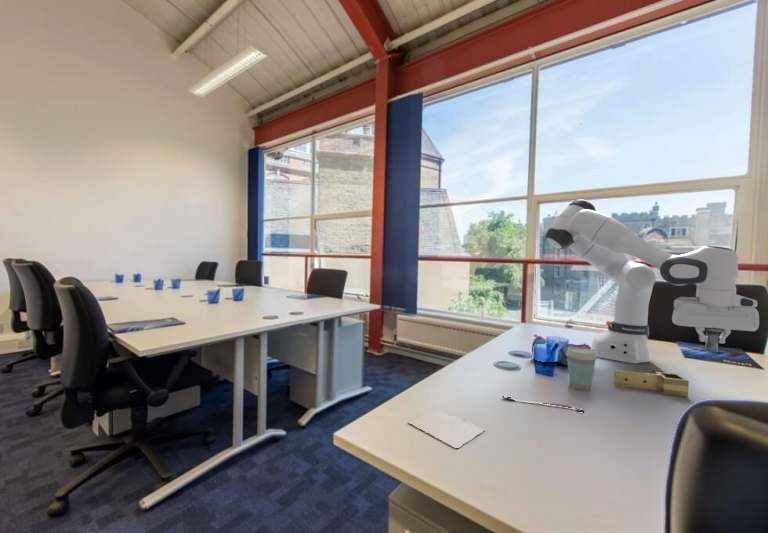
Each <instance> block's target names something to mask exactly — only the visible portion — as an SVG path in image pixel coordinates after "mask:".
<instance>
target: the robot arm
mask: <svg viewBox="0 0 768 533" xmlns="http://www.w3.org/2000/svg"><path fill="white" fill-rule="evenodd" d="M544 237H545V240H546V241H547V243H548V244H549V245H550V246H551V247H553V248H556V249H557V250H565V249H568V248H569V249H570V251H572V252H573V253H574V254H575V255H576V256H578V257H579V258H581V259H582V260H584V262H587V263H588V264H589V265H591V266H592V267H594V268H595V269H597V270H598V271H599V272H600V273H602V274H603V275H605V277H607V278H609V279H610V280H611V281H612V282H614V283H615V284H616V285H617V286H618V290H617V295H616V300H615V301H614V319H613V321H611V320H606V321H605V324H606V325H607V330H605V331H603V332H601V333H599V334H597V335H594V337H593V339H592V340H591V341H592V343H591V344H590V345H589V346H590V347H591V350H594V351H595V354H596V358H600V359H606V360H611V361H618V362H623V363H630V364H634V365H635V364H639V363H648V362H649V363H650V361H652V358H651V356H650V351H649V344H648V339H649V336H650V335H649V334H650V325H649V324H648V320H649V319H648V318H649V306H650V301H651V300H650V299H651V296H652V293H653V287H654V285H655V283H656V279H657V277H656V276H657V275H656V273H655V271H654V270H653V269H652V268H651V267H650V266H652V267H655V269H658V270H659V274H660V276H661V278H662V279H663V280H664V281H665V282H667V283H668V284H671V285H673V286H687V285H695V286H696V291H695V296H679V297H676V298H675V299H674V301H673V312H672V315H671V321H672V323H673V324H674V325H677V326H679V327H693V328H695V331H696V333H697V334H698V337H699V338H698V340H699V342H702V343H703V342H704V343H706V342H708V336H706V334H705V333H704V332H706V330H705V328H717V329H723V332H720V334H719V339H718V344H725V343H726V339H727V337H729V335H731V333H732V331H733V330H734V331H746V332H756V331H757V330H758V329H760V328H759V327H760V314H759V310H758V309H757V306H758V303H759V302H758V301H757V300H756V299H753V298H748V297H746V296H744V295H742V294H741V295H740V294H737V286H736V281H737V279H738V276H739V258H738V254H737V253H736V251H735V250H733V249H732V248H728V247H723V246H716V245H703V246H701V247H700V248H698V249H695V250H693V251H690V252H687V253H683V254H675V253H671V252H668V251H666V250H664V249H662V248H660V247H657V246H656V245H653V244H651V243H649V242H647V241H645V240H644V239H643V238H641V237H639V236H638V234H636V233H635V232H633V230H631V228H629V227H627V226H626V225H624V223H623V222H620V221H618V220H617V219H615V218H613V217H611V216H609V215H607V214H603V213H601V212H598V211H596V207H595V206H594V205H593V203H592V202H590V201H588V200H586V199H581V198H578V199H574V200H573V201H572V202H570V203H568V206H566V208H565V209H563V211H562V212H561V213H560V214H559V215H558V216H557V218H556V219H555V220H554V222H553V223H552V225H551V226H550V227H549V228H548V229H547V231H546V233H545V235H544ZM627 255H628V256H632V257H634V258H637V259H639V260H641V261H643V262H645V263H647V264H645V263H639V262H635V261H634V260H632V259H631V258H629V257H628V256H627ZM648 264H649V265H650V266H648ZM731 330H732V331H731Z"/></svg>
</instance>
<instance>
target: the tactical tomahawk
mask: <svg viewBox="0 0 768 533" xmlns="http://www.w3.org/2000/svg"><path fill="white" fill-rule="evenodd" d="M502 396H503V395H502ZM502 398H504V396H503V397H502ZM509 398H511V397H507V398H506V399H509ZM547 403H548V404H549V403H550V402H546V403H543V404H547ZM550 405H556V406H562V407H568V408H572V407H573V406H570V405H564V404H559V403H558V404H557V403H552V404H550ZM569 406H570V407H569ZM577 411H578V412H583V413H584V412H585V410H584V409H583V410H580V409H577ZM577 411H576V412H577ZM578 412H577V413H578ZM583 413H582V414H583ZM584 414H585V413H584Z"/></svg>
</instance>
